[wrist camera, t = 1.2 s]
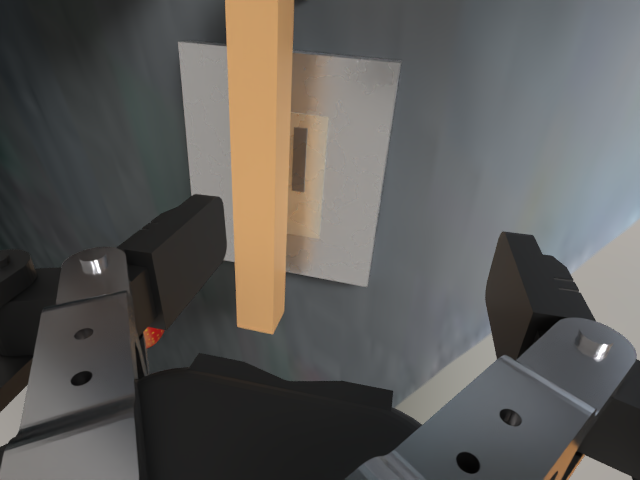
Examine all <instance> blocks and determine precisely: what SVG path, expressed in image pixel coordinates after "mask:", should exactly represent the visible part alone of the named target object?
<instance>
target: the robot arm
mask: <svg viewBox="0 0 640 480" xmlns="http://www.w3.org/2000/svg"><path fill="white" fill-rule="evenodd" d="M226 250H227V238H226V227H225V216H224V206H223V201H222V199H221V198H220V197H218V196H209V195H201V194H194V195H192V196H191V197H190V198H189V199H187V200H186V201H185V202H183V203H182V204H181V205H180V206H178V207H176V208H174V209H171V210H169V211H166V212H164V213H162V214H160V215H159V216H158V217H156V218H155V219H154V220H152V221H151V223H148V224H147V225H146V226H144V227H143V228H142V230H139V231H138V232H136V233H135V234H134V235H132V236H131V237H130V238H129V239H127V240H126V241H125V242H123V243H122V244H121V245H119V246H118V247H117V248H115V247H96V248H91V249H87V250H83V251H81V252H78V253H76V254H74V255H72V256H70V257H69V258H67V259H66V260H65V261H64V262H63V264H62V266H61V268H40V269H35V268H34V265H33V262H32V259H31V256H30V254H29V253H28V252H26V251H23V250H16V249H10V250H1V251H0V412H1V411H2V410H3V409H4V408H5V407H6V406H7V405H8V404H9V402H11V401H12V400H13V399H14V398H15V397H16V396H17V395H18V394H19V393H20V392H21V391H22V390H23V389H24V388H25V387H26V386H27V385H28V387H27V393H26V398H25V403H24V408H23V414H22V419H21V424H20V429H19V432H18V434H17V436H16V437H14V438H12V439H11V440H10V441H9V443H8V444H6V445H4V446H1V447H0V480H569V478H570V477H571V475H572V474H573V472H574V471H575V469H576V467H577V466H578V465H579V463H580V462H581V461H582V459H583V458H584V456H585V455H586V456H589V457H591V458H593V459H595V460H597V461H599V462H601V463H604V464H606V465H608V466H610V467H612V468H615V469H617V470H619V471H621V472H623V473H626V474H628V475H630V476H632V479H633V480H640V361H639V360H637V359H636V358H637V354H636V350H635V349H634V347H633V345H632V344H631V343H630V342H629V341H628V340H627V339H626V338H625V337H624V336H623V335H621V334H620V333H619V332H617V331H615V330H614V329H612V328H610V327H608V326H606V325H604V324H601V323H598V322H596V320H595V318H594V317H593V315H592V313H591V311H590V309H589V308H588V306H587V304H586V302H585V300H584V298H583V296H582V295H581V293H579V289H578V287H577V286H576V284H575V282H573V278H572V276H571V275H570V273H569V271H568V269H567V267H565V266H564V265H563V264H562V263H560V262H559V261H558V260H557V259H556V258H554V257H553V256H550V255H543V254H542V252H541V250H540V248H539V246H538V244H537V242H536V240H535V238H534V236H533V235H527V234H519V233H511V232H502V233H501V234H500V237H499V239H498V243H497V247H496V250H495V254H494V258H493V261H492V265H491V269H490V273H489V276H488V280H487V285H486V295H485V300H486V306H487V311H488V316H489V321H490V326H491V331H492V336H493V341H494V346H495V351H496V356H497V360H496V361H495V362H494V363H493V364H492V365H490V366H489V367H488V368H487V369H486V370H485V371H484V372H483V373H481V374H480V375H479V376H478V377H477V378H476V379H475V380H473V381H472V382H471V383H470V384H469V385H468V386H466V388H464V389H463V390H462V391H461V392H460V393H458V394H457V395H456V396H455V397H454V398H453V399H452V400H450V401H449V402H448V403H447V404H446V405H445V406H444V407H442V408H441V409H440V410H439V411H438V412H437V413H436V414H434V415H433V416H432V417H431V418H430V419H429V420H428V421H426V422H425V423H424V424H423V425H422V424H420V423H419V422H417V421H416V420H415V419H413V418H412V417H410V416H408V415H406V414H405V413H403V412H401V411H399V410H397V409H395V408H392V397H393V391H391V390H386V389H381V388H376V387H371V386H366V385H361V384H355V383H350V382H345V381H286V380H283V379H281V378H279V377H277V376H274V375H272V374H270V373H268V372H265V371H263V370H261V369H259V368H256V367H254V366H252V365H250V364H248V363H245V362H242V361H237V360H232V359H227V358H222V357H216V356H211V355H206V354H201V353H199V354H198V355H197V357H196V358H195V360H194V361H193V363H192V364H191V366H190V367H184V368H175V369H169V370H164V371H160V372H157V373H153V374H150V372H149V364H148V357H147V349H146V342H145V337H144V333H143V332H144V331H145V329H146V328H147V327H151V328H156V329H162V330H167V329H168V328H169V327H170V325H171V324H172V323H173V322H174V321H175V319H176V318H177V317H178V316H179V314H180V313H181V312H182V311H183V310H184V308H185V307H186V306H187V305H188V303H189V302H190V301H191V300H192V299H193V297H194V296H195V295H196V294H197V292H198V291H199V290H200V289H201V288H202V286H203V285H204V284H205V283H206V281H207V280H208V279H209V278H210V277H211V275H212V274H213V273H214V272H215V271H216V269H217V268H218V267H219V266H220V264H221V263H222V262H223V260H224V258H225V255H226Z"/></svg>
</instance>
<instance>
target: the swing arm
mask: <svg viewBox="0 0 640 480" xmlns="http://www.w3.org/2000/svg"><path fill="white" fill-rule="evenodd" d="M225 12H226V38H227V65H228V92H229V119H230V145H231V172H232V199H233V226H234V252H235V279H236V306H237V327H240V328H245V329H250V330H254V331H259V332H264V333H268V334H273V333H274V331H275V329H276V327H277V325H278V323H279V321H280V319H281V317H282V315H283V313H284V303H285V272H286V241H287V210H288V179H289V148H290V117H291V86H292V55H293V24H294V0H225Z"/></svg>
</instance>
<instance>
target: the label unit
mask: <svg viewBox="0 0 640 480" xmlns="http://www.w3.org/2000/svg"><path fill="white" fill-rule="evenodd" d="M178 48H179V59H180V71H181V82H182V93H183V104H184V116H185V127H186V138H187V150H188V161H189V172H190V184H191V195H194V194H201V195H209V196H218V197H220V198H221V199H222V201H223V206H224V216H225V227H226V238H227V250H226V255H225V258H224V260H226V261H231V262H235V252H234V226H233V199H232V172H231V145H230V119H229V92H228V65H227V44H223V43H213V42H202V41H181V42H178ZM401 64H402V60H392V59H381V58H371V57H360V56H350V55H339V54H329V53H318V52H308V51H297V50H293V55H292V86H291V117H290V148H289V179H288V210H287V241H286V272H290V273H295V274H300V275H306V276H311V277H316V278H321V279H327V280H332V281H337V282H343V283H348V284H353V285H359V286H364V287H367V285H368V281H369V277H370V271H371V265H372V258H373V251H374V245H375V238H376V231H377V225H378V218H379V211H380V205H381V198H382V191H383V185H384V178H385V171H386V164H387V158H388V151H389V144H390V138H391V131H392V124H393V118H394V111H395V104H396V98H397V91H398V84H399V78H400V71H401Z"/></svg>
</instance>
